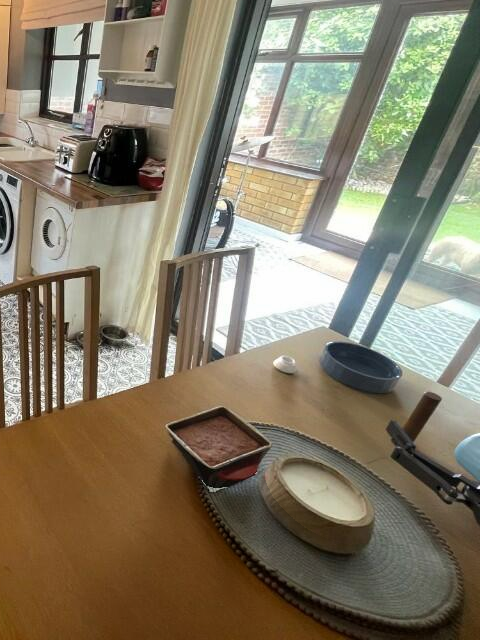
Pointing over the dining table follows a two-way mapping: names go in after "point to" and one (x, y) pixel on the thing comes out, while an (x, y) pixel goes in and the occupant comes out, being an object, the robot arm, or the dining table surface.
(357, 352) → the bowl
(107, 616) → the dining table surface
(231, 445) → the baking dish
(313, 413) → the dining table surface
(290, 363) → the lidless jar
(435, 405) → the stirring stick
